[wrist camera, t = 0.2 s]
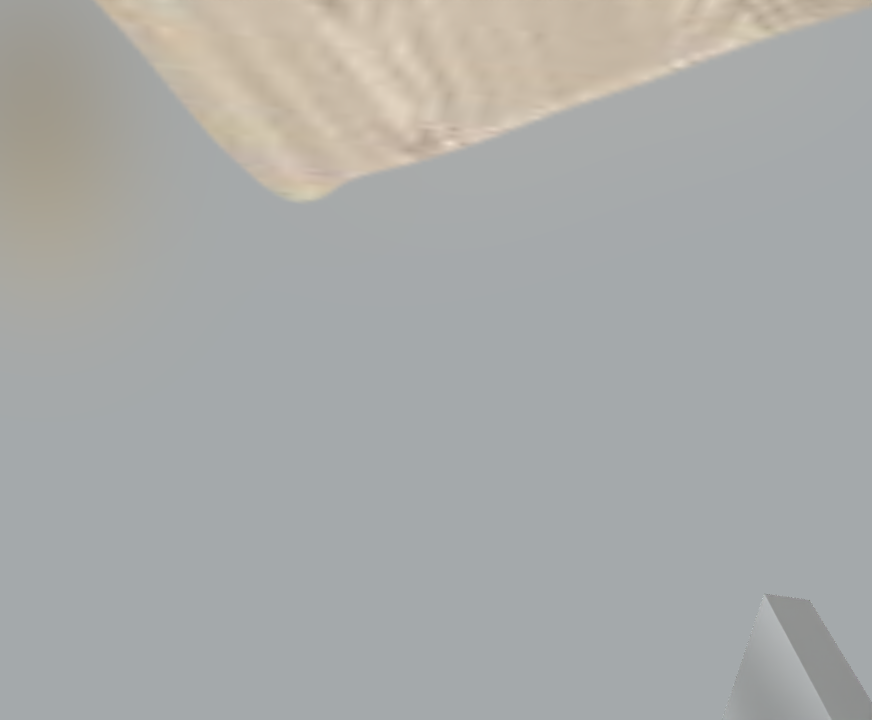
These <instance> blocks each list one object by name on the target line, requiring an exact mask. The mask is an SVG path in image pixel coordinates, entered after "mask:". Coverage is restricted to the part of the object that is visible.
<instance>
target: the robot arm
mask: <svg viewBox="0 0 872 720" xmlns="http://www.w3.org/2000/svg"><path fill="white" fill-rule="evenodd" d="M722 720H872V702H871V700H870V698H869V697H868V695H867V694H866V692H865V690H864V689H863V687H862V685H861V684H860V682H859V680H858V679H857V677H856V676H855V674H854V672H853V670H852V669H851V667H850V666H849V664H848V662H847V661H846V659H845V657H844V656H843V654H842V653H841V651H840V649H839V648H838V646H837V644H836V643H835V641H834V639H833V638H832V636H831V634H830V633H829V631H828V630H827V628H826V627H825V625H824V623H823V621H822V620H821V618H820V616H819V615H818V614H817V612H816V610H815V608H814V607H813V605H812V603H811V602H810V600H805V599H798V598H790V597H783V596H777V595H770V594H764V596H763V599H762V602H761V605H760V608H759V611H758V614H757V617H756V620H755V623H754V626H753V629H752V632H751V635H750V638H749V641H748V644H747V647H746V650H745V653H744V656H743V659H742V662H741V665H740V668H739V671H738V674H737V677H736V680H735V683H734V686H733V689H732V692H731V695H730V698H729V701H728V704H727V707H726V710H725V712H724V716H723V718H722Z"/></svg>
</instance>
